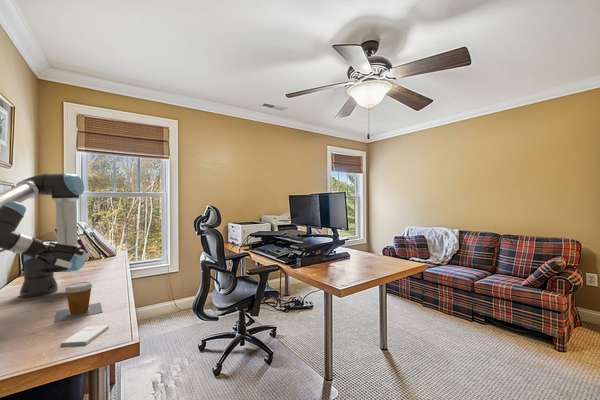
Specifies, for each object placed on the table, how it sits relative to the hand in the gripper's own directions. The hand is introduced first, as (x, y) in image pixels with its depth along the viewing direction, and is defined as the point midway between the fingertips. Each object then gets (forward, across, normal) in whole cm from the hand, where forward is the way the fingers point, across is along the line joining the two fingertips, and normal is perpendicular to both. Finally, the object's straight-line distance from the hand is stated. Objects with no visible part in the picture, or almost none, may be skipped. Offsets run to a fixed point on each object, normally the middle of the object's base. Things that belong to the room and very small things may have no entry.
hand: (79, 261), depth 132 cm
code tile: (+5, +3, -24) cm, 24 cm away
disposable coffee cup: (+5, +4, -24) cm, 25 cm away
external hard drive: (-1, +28, -40) cm, 49 cm away
